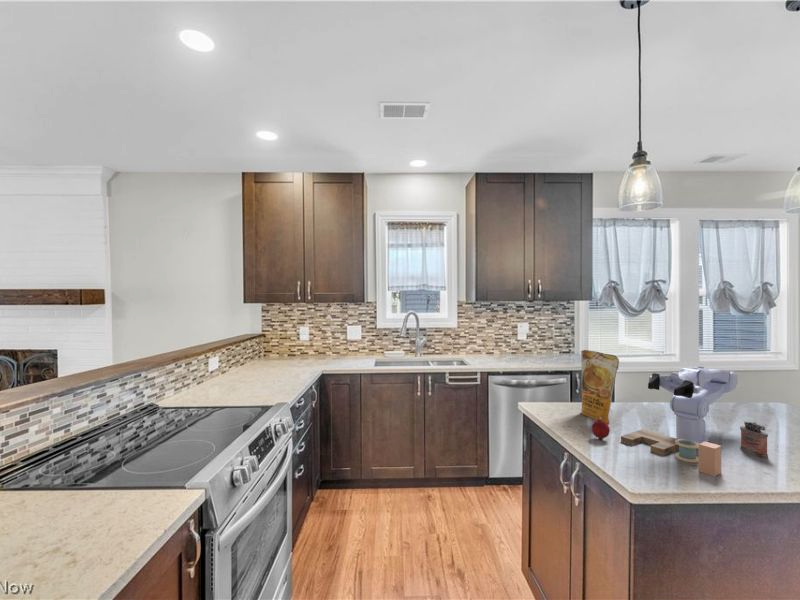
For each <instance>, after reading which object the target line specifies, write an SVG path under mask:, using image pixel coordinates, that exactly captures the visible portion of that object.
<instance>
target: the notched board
mask: <svg viewBox="0 0 800 600" xmlns="http://www.w3.org/2000/svg"><path fill="white" fill-rule="evenodd" d="M673 437H674V436H672V437H671V436H670V435H669V436H668V435H665V434H662V433H658V432H654V431H651V430H648V429H644V428H642V429H638V430H635V431H633V432H629V433H627V434H623V435H621V436H620V442H621V443H623V442H624V444H627V445H630V446H635V445H638V444H640V443H644V444H648V445H649V446H650V452H652V453H655V454H658V455H660V456H667V455H668V454H671V453H674V452H676V451H679V445H677V444H675V440H677V439H676V438H673Z"/></svg>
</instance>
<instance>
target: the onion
mask: <svg viewBox="0 0 800 600" xmlns="http://www.w3.org/2000/svg"><path fill="white" fill-rule="evenodd" d="M610 431H611V429H610V426H609V423H606V422H605V421H603V420H602V418H601V417H599V419H598V420H597V421H596V420H594V422H593V423H592V425H591V432H592V434H593V435H594V436H595V437H596V438H597V439H598V440H604V439H605V438H607V437H608V436H609V434H610Z"/></svg>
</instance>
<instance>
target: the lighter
mask: <svg viewBox="0 0 800 600" xmlns="http://www.w3.org/2000/svg"><path fill="white" fill-rule="evenodd" d="M743 422H744V425H742V426H740V428H739V430H740V446H739V448H740V450H741V451H743V452H745V453H747V454H749V455H752V456H755V457H758V458H760V459H768V458H769V455H768V437H769V433H766V432H764V431H766V427H765V426H764V425H761V424H759V423H757V422H755V421H748V420H746V421H743Z"/></svg>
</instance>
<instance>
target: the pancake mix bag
mask: <svg viewBox="0 0 800 600" xmlns="http://www.w3.org/2000/svg"><path fill="white" fill-rule="evenodd" d="M580 353H581V373H580V374H581V379H580V380H581V382H580V383H581V399H582V400H581V415H583V416H585V417H588V418H589V419H591V420H594V421H597V420H598V419H599V417H601V418H602V420H603V421H605V422H606V423H607V424H610V419H609V416H610V415H609V413H610V409H611V405H612V397H613V392H614V388H615V384H616V383H615V382H616V375H617V371H618V369H619V365H620V364H619V362H620V361H619V358H618V357H617V356H616V355H614V354H608V353H603V352H599V351H595V350H589V349H588V350H587V349H582V350H581V351H580Z"/></svg>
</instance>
